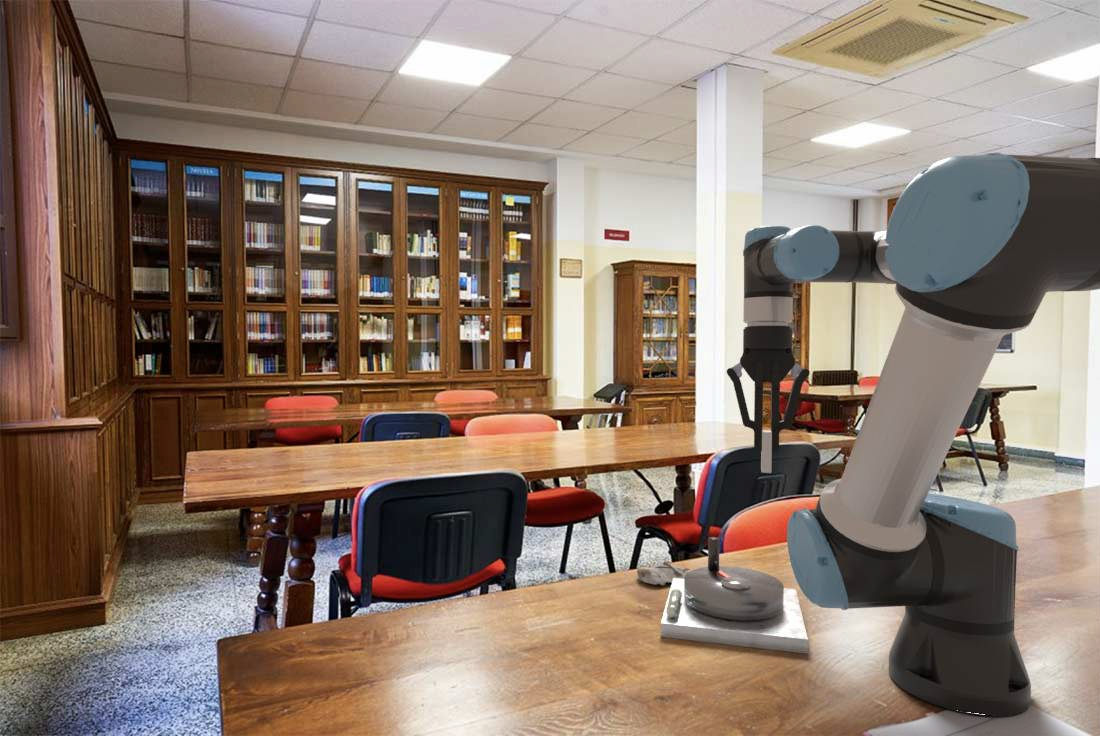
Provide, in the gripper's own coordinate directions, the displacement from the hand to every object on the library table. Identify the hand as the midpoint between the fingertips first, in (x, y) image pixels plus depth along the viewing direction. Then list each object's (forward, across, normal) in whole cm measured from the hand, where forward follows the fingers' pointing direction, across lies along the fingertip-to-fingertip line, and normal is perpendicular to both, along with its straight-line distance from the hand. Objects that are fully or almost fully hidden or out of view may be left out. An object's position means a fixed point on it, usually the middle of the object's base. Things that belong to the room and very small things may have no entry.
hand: (766, 471), depth 109 cm
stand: (+22, +5, +6) cm, 23 cm away
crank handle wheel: (+20, +5, +5) cm, 21 cm away
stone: (+22, +17, -8) cm, 29 cm away
